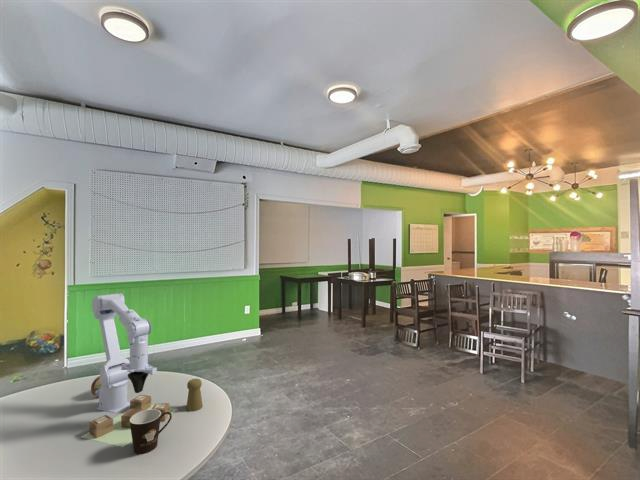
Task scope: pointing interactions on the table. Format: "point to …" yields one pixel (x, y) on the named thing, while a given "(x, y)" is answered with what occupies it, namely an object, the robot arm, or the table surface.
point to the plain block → (128, 417)
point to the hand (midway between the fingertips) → (138, 391)
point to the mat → (118, 432)
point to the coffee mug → (146, 430)
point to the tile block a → (101, 426)
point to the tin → (96, 386)
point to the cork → (194, 395)
